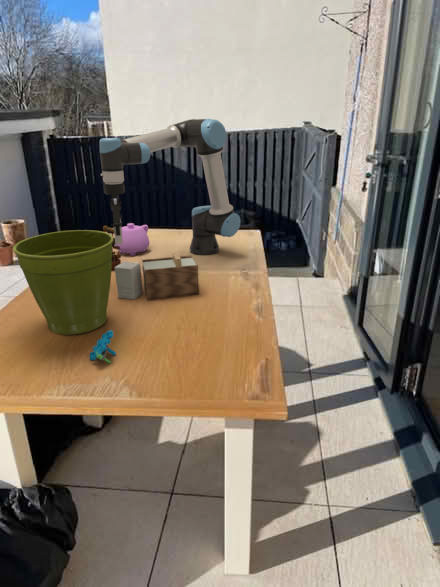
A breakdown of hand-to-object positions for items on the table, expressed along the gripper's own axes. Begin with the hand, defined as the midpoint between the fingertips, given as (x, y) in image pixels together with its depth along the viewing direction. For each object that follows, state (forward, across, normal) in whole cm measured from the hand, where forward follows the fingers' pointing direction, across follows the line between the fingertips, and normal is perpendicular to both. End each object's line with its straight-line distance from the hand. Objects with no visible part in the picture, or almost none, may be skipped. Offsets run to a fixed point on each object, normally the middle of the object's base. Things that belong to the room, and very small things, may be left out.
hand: (118, 239), depth 163 cm
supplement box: (+21, +7, +2) cm, 22 cm away
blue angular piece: (+22, +52, -7) cm, 57 cm away
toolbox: (+21, +6, +18) cm, 29 cm away
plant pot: (+22, +27, -16) cm, 38 cm away
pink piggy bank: (+21, -54, +6) cm, 59 cm away
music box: (+21, -30, -6) cm, 37 cm away
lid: (+10, +6, +18) cm, 22 cm away
